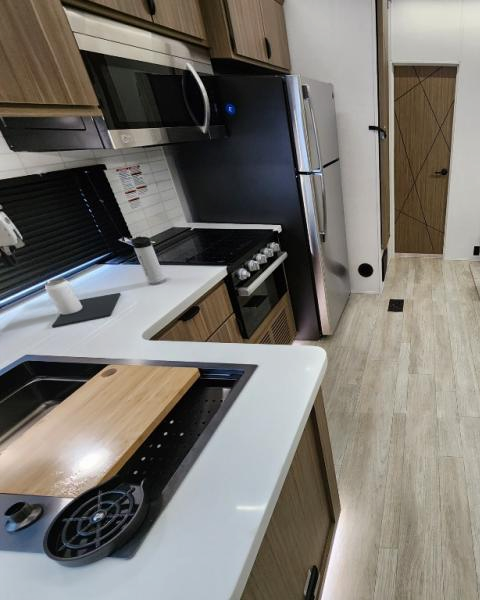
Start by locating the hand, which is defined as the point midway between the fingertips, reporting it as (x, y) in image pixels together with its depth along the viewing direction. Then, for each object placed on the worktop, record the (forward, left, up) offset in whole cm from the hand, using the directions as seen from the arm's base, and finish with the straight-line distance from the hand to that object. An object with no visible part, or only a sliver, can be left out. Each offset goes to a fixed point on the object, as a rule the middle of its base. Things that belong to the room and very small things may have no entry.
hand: (13, 265), depth 110 cm
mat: (+13, 0, -20) cm, 24 cm away
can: (+8, 0, -20) cm, 21 cm away
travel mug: (+33, +17, -21) cm, 42 cm away
